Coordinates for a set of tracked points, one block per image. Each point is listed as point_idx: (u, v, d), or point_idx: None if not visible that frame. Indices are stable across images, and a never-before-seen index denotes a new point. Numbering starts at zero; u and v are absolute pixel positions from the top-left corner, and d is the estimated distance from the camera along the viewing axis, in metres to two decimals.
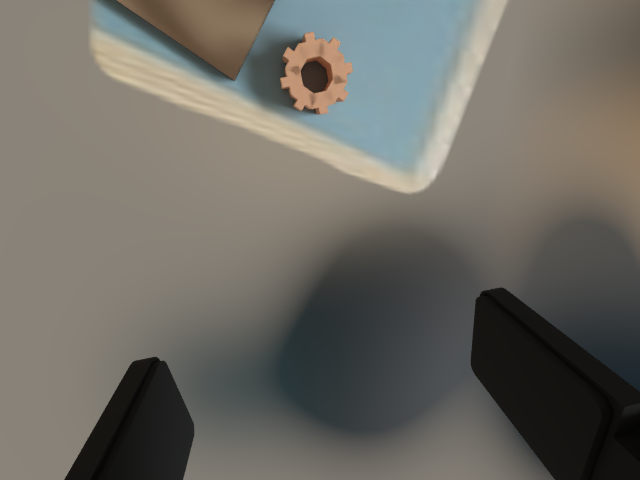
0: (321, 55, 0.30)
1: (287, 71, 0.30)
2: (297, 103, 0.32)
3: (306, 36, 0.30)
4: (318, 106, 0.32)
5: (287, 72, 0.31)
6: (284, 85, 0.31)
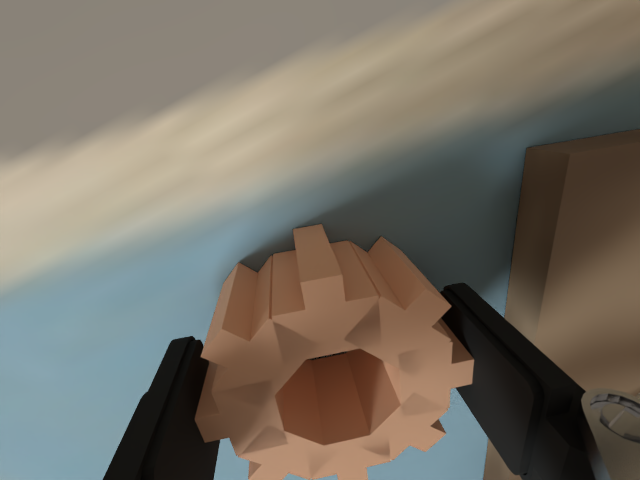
0: (366, 437, 0.09)
1: (439, 338, 0.07)
2: (336, 290, 0.07)
3: (437, 433, 0.09)
4: (253, 343, 0.07)
5: (437, 336, 0.07)
6: (424, 299, 0.07)
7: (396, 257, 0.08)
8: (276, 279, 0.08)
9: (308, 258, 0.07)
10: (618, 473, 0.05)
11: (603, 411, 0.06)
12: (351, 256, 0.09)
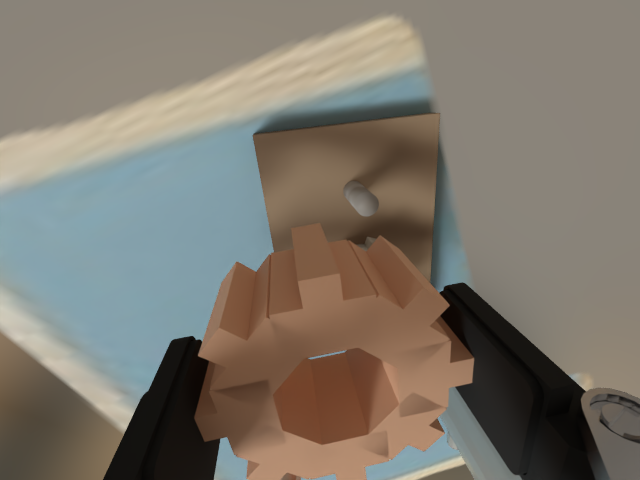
0: (364, 437, 0.09)
1: (437, 337, 0.07)
2: (333, 289, 0.07)
3: (435, 433, 0.09)
4: (251, 342, 0.07)
5: (435, 335, 0.07)
6: (422, 298, 0.07)
7: (394, 256, 0.08)
8: (274, 278, 0.08)
9: (306, 257, 0.07)
10: (618, 473, 0.05)
11: (603, 411, 0.06)
12: (349, 255, 0.09)
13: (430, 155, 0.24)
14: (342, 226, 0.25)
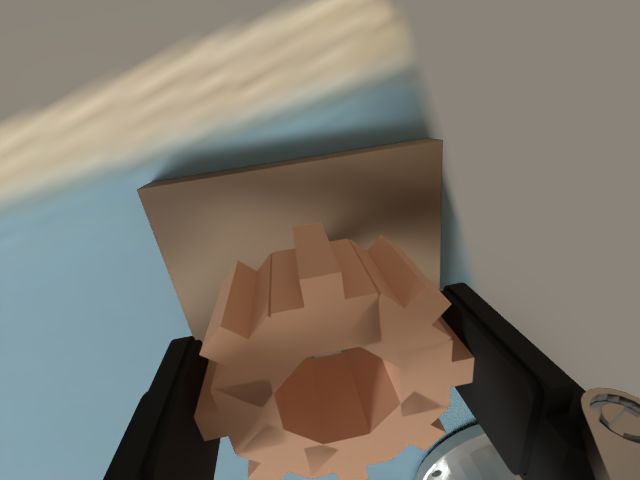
0: (366, 436, 0.09)
1: (439, 336, 0.07)
2: (335, 287, 0.07)
3: (437, 432, 0.09)
4: (252, 341, 0.07)
5: (437, 334, 0.07)
6: (423, 297, 0.07)
7: (396, 255, 0.08)
8: (275, 277, 0.08)
9: (307, 256, 0.07)
10: (617, 473, 0.05)
11: (603, 411, 0.06)
12: (351, 254, 0.09)
13: (429, 204, 0.15)
14: None
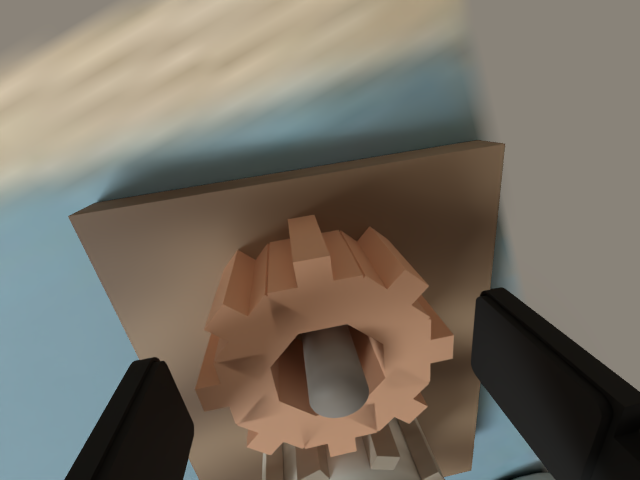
0: None
1: (418, 315, 0.08)
2: (324, 269, 0.07)
3: (419, 406, 0.10)
4: (251, 318, 0.08)
5: (417, 313, 0.08)
6: (404, 279, 0.08)
7: (381, 244, 0.09)
8: (272, 263, 0.09)
9: (300, 243, 0.08)
10: None
11: None
12: (341, 243, 0.09)
13: (481, 231, 0.11)
14: None
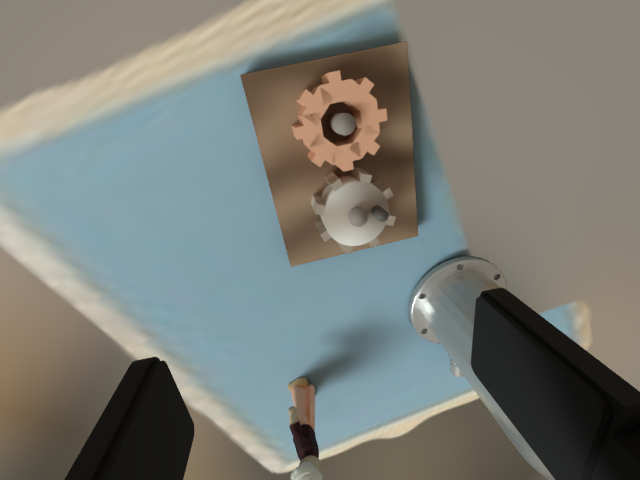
0: (351, 144, 0.25)
1: (372, 98, 0.24)
2: (338, 76, 0.23)
3: (377, 145, 0.25)
4: (314, 95, 0.23)
5: (371, 97, 0.24)
6: (365, 81, 0.23)
7: (358, 79, 0.24)
8: (318, 86, 0.24)
9: None
10: None
11: None
12: None
13: (402, 83, 0.26)
14: None
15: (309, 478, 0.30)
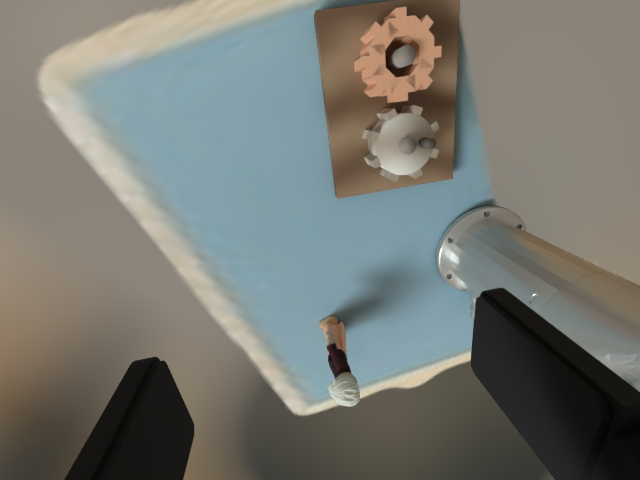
0: (408, 76, 0.28)
1: (430, 34, 0.27)
2: (404, 11, 0.26)
3: (430, 79, 0.29)
4: (382, 28, 0.27)
5: (430, 33, 0.27)
6: (426, 18, 0.27)
7: None
8: (383, 23, 0.28)
9: None
10: None
11: None
12: None
13: (452, 30, 0.30)
14: None
15: (348, 386, 0.33)
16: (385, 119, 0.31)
